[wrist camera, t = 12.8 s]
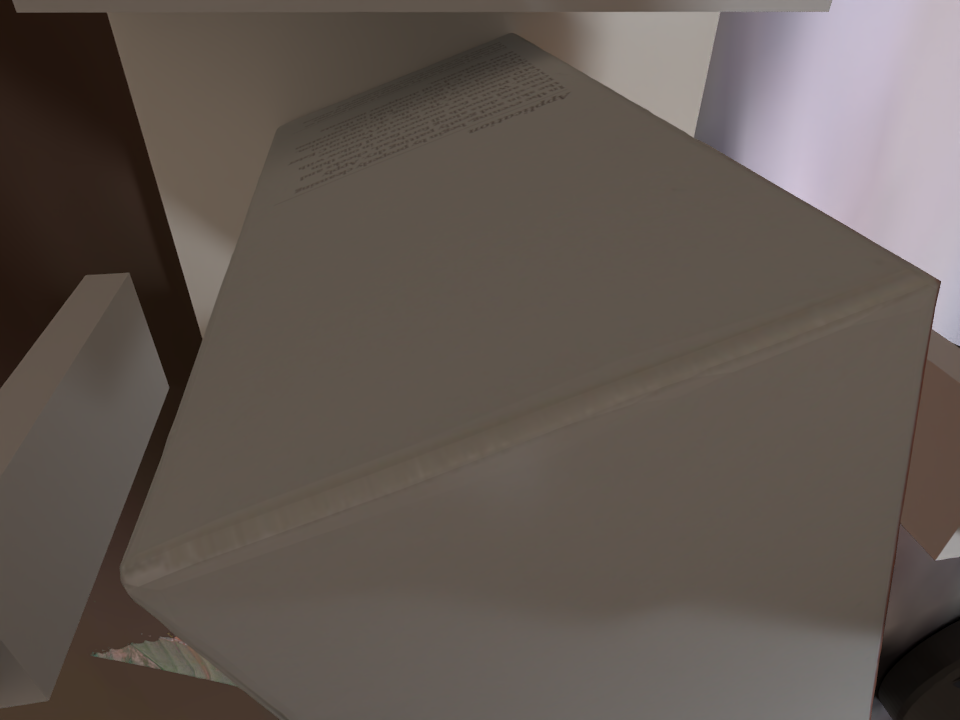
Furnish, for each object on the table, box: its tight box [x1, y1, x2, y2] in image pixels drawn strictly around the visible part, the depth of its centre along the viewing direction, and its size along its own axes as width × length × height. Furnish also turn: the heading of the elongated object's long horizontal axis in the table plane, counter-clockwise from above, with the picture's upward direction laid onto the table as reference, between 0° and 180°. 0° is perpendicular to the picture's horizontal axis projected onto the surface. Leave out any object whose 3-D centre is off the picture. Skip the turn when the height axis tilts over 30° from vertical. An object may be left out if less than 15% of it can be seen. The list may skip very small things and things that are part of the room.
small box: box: [120, 33, 941, 720], centre depth 12 cm, size 8×6×13 cm
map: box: [92, 633, 238, 687], centre depth 24 cm, size 5×20×1 cm, turn 54°
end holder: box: [12, 0, 832, 339], centre depth 16 cm, size 14×13×5 cm
